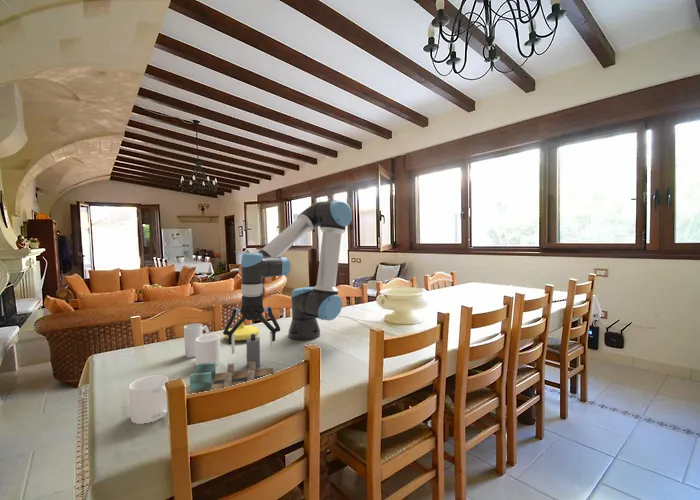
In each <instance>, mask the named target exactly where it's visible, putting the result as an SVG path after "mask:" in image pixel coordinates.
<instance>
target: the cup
mask: <svg viewBox="0 0 700 500" xmlns="http://www.w3.org/2000/svg"><path fill="white" fill-rule="evenodd" d="M220 338H221V337H220V335H218V334H210V335H207V334H206V335H202V336H200V337H198V338H196V357H195V360H196V361H195V363H196V364H202V363H213V362H215V365H216V367H217V366H218V365H220V363H221V348H220V347H221V346H220V345H221V343H220V341H221V340H220ZM196 364H195V365H196Z"/></svg>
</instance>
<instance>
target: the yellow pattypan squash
mask: <svg viewBox="0 0 700 500" xmlns="http://www.w3.org/2000/svg"><path fill="white" fill-rule="evenodd" d="M232 328H233V327H229V329H228V331H230V330H231V329H232ZM259 333H260V329H259V328H258V327H257V326H254V325H245V323H244V322H242V324H241V325H240V326H239V327H238V328H237V329H236V331H235V332H234V333H233V334H235V341H236V342H238V341H239V342H240V341H242V342H243V341H247V338H251V334H255V337H257V336H258V335H259ZM224 337H225V338H226V339H228V335H226V334H225V335H224Z"/></svg>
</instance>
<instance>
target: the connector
mask: <svg viewBox="0 0 700 500" xmlns="http://www.w3.org/2000/svg"><path fill="white" fill-rule="evenodd" d="M260 338H261V337H259V336H255V334H251V338H247V340H246V369H247V370H249V362H255V369H261V339H260Z"/></svg>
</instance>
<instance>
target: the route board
mask: <svg viewBox="0 0 700 500" xmlns="http://www.w3.org/2000/svg"><path fill="white" fill-rule="evenodd" d="M216 367H217V366H216V365H215V362H213V363H202V364H195V373H190V375H189V387H188V389H187V390H186V393H187V394H192V393H199V392H204V391H210V390H215V389H220V388H224V387H228V386H232V385H236V384H239V383H243V382H247V381H250V380H254V379H257V378H260V377H263V376H266V375H269V374H272V373H273V374H274V367H270V368H269V367H268V368H255V362H249V369H247V370H246V369H245V370H238V371H235V363H227V371H226V372H218V373H217V371H216V369H217V368H216ZM186 393H185V394H186Z"/></svg>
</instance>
